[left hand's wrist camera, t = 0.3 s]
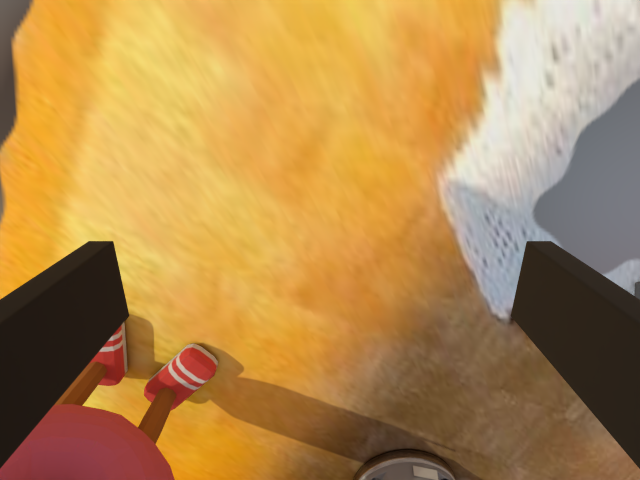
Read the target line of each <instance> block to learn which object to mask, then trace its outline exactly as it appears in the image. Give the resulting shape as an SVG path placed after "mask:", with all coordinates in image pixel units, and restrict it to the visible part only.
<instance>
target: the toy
mask: <svg viewBox="0 0 640 480" xmlns="http://www.w3.org/2000/svg"><path fill="white" fill-rule="evenodd" d="M217 365H218V361H217V360H216V358H215V357H214V356H213V355H212V354H210V353H209V352H208V351H206V350H205V349H204V348H203V347H201V346H199V345H197V344H189V345H187V346H186V347H185V348H184V349H182V350H181V351H180V352H179V353H178V354H177V355H176V356H175V357H174V358H172V359H171V360H170V361H169V362H168V363H167V364H166V365H165V366H164V367H162V368H161V369H160V370H159V371H158V372H157V373H156V374H155V375H154V376H152V377H151V378H150V380H149V381H148V383H147V385H146V386H145V390H144V396H145V397H146V398H147V399H148V400H149V401H150V402H152V404H151V405H150V407H149V409H148V410H147V412H146V414H145V416H144V417H143V419H142V421H141V423H140V425H139V427H136V426H135V425H134V424H132V423H131V422H130V421H128V420H127V419H126V418H124V417H123V416H122V415H119V414H116V413H112V412H109V411H106V410H102V409H96V408H91V407H85V406H82V405H83V404H84V403H85V401H86V400H87V399H88V397H89V396H90V395H91V393H92V392H93V391H94V389H95V388H96V387H97V385H106V386H111V385H116V384H118V383H119V382H120V381H121V380H122V378H123V377H124V375H125V374H126V372H127V371H128V367H127V352H126V338H125V323H123V324H122V325H121V326H120V327H119V328H118V330H117V331H116V332H115V333H114V334H113V336H112V337H111V338H110V339H109V340H108V341H107V343H106V344H105V345H104V346H103V347H102V349H101V350H100V351H99V352H98V353H97V355H96V356H95V357H94V358H93V359H92V360H91V362H90V363H89V364H88V365H87V366H86V368H85V369H84V370H83V371H82V372H81V374H80V375H79V376H78V377H77V378H76V379H75V381H74V382H73V383H72V384H71V385H70V387H69V388H68V389H67V390H66V391H65V393H64V394H63V395H62V396H61V397H60V398H59V400H58V401H57V402H56V403H55V404H54V406H53V407H52V408H51V409H50V410H49V411H48V413H47V414H46V415H45V416H44V417H43V419H42V420H41V421H40V422H39V423H38V425H37V426H36V427H35V428H34V429H33V430H32V432H31V433H30V434H29V435H28V436H27V438H26V439H25V440H24V441H23V442H22V444H21V445H20V446H19V447H18V448H17V449H16V451H15V452H14V453H13V454H12V455H11V457H10V458H9V459H8V460H7V461H6V463H5V464H4V465H3V466H2V467H1V468H0V480H174V477H173V474H172V471H171V468H170V465H169V464H168V462H167V461H166V459H165V458H164V456H163V455H162V453H161V452H160V450H159V449H158V448H157V446H156V445H155V444H156V442H157V440H158V438H159V436H160V433H161V431H162V429H163V427H164V424H165V422H166V419H167V417H168V415H169V412H170V410H173V409H175V408H176V407H177V406H178V405H180V404H181V403H182V402H183V401H184V400H186V399H187V398H188V397H189V396H190V395H191V394H193V393H194V392H195V391H196V390H197V389H199V388H200V387H201V386H202V385H203V384H204V383H206V382H207V381H208V380H209V379H210V378H212V377H213V376H214V374H215V371H216V369H217Z"/></svg>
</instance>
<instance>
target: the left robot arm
mask: <svg viewBox="0 0 640 480" xmlns="http://www.w3.org/2000/svg"><path fill="white" fill-rule="evenodd" d="M128 317H129V313H128V308H127V303H126V299H125V294H124V290H123V285H122V280H121V276H120V271H119V266H118V262H117V257H116V252H115V248H114V243H113V241H89V242H87V243H86V244H84V245H83V246H81V247H80V248H78V249H77V250H75V251H74V252H72V253H70V254H69V255H67V256H66V257H64V258H63V259H61V260H60V261H58V262H57V263H55V264H54V265H52V266H51V267H49V268H48V269H46V270H45V271H43V272H42V273H40V274H39V275H37V276H36V277H34V278H32V279H31V280H29V281H28V282H26V283H25V284H23V285H22V286H20V287H19V288H17V289H16V290H14V291H13V292H11V293H10V294H8V295H7V296H5V297H4V298H2V299H1V300H0V468H1V467H2V466H3V465H4V464H5V463H6V461H7V460H8V459H9V458H10V457H11V455H12V454H13V453H14V452H15V451H16V449H17V448H18V447H19V446H20V445H21V444H22V442H23V441H24V440H25V439H26V438H27V436H28V435H29V434H30V433H31V432H32V430H33V429H34V428H35V427H36V426H37V425H38V423H39V422H40V421H41V420H42V419H43V417H44V416H45V415H46V414H47V413H48V411H49V410H50V409H51V408H52V407H53V406H54V404H55V403H56V402H57V401H58V400H59V398H60V397H61V396H62V395H63V394H64V393H65V391H66V390H67V389H68V388H69V387H70V385H71V384H72V383H73V382H74V381H75V379H76V378H77V377H78V376H79V375H80V374H81V372H82V371H83V370H84V369H85V368H86V366H87V365H88V364H89V363H90V362H91V360H92V359H93V358H94V357H95V356H96V355H97V353H98V352H99V351H100V350H101V349H102V347H103V346H104V345H105V344H106V343H107V341H108V340H109V339H110V338H111V337H112V336H113V334H114V333H115V332H116V331H117V330H118V328H119V327H120V326H121V325H122V324H123V323H124V321H125V320H126V319H127V318H128ZM511 317H512V318H513V319H514V320H515V321H516V323H517V324H518V325H519V326H520V327H521V328H522V330H523V331H524V332H525V333H526V334H527V336H528V337H529V338H530V339H531V340H532V341H533V343H534V344H535V345H536V346H537V347H538V349H539V350H540V351H541V352H542V353H543V355H544V356H545V357H546V358H547V359H548V360H549V362H550V363H551V364H552V365H553V366H554V368H555V369H556V370H557V371H558V372H559V374H560V375H561V376H562V377H563V378H564V379H565V381H566V382H567V383H568V384H569V385H570V387H571V388H572V389H573V390H574V391H575V393H576V394H577V395H578V396H579V397H580V398H581V400H582V401H583V402H584V403H585V404H586V406H587V407H588V408H589V409H590V410H591V411H592V413H593V414H594V415H595V416H596V417H597V419H598V420H599V421H600V422H601V423H602V425H603V426H604V427H605V428H606V429H607V430H608V432H609V433H610V434H611V435H612V436H613V438H614V439H615V440H616V441H617V442H618V444H619V445H620V446H621V447H622V448H623V449H624V451H625V452H626V453H627V454H628V455H629V457H630V458H631V459H632V460H633V461H634V463H635V464H636V465H637V466H638V467H639V468H640V300H639V299H638V298H636V297H635V296H633V295H632V294H630V293H629V292H627V291H626V290H624V289H623V288H621V287H620V286H618V285H617V284H615V283H614V282H612V281H611V280H609V279H608V278H606V277H604V276H603V275H601V274H600V273H598V272H597V271H595V270H594V269H592V268H591V267H589V266H588V265H586V264H585V263H583V262H582V261H580V260H579V259H577V258H576V257H574V256H572V255H571V254H570V253H568V252H566V251H565V250H563V249H562V248H560V247H559V246H557V245H556V244H554V243H553V242H551V241H527V243H526V248H525V252H524V257H523V262H522V266H521V271H520V276H519V280H518V285H517V290H516V294H515V299H514V303H513V308H512V313H511ZM353 480H456V479H455V476H454V473H453V471H452V469H451V468H450V467H449V465H448V464H447V463H446V462H444V461H443V460H442V459H440V458H438V457H437V456H435V455H432V454H429V453H426V452H422V451H416V450H400V451H393V452H389V453H385V454H382V455H380V456H377V457H375V458H373V459H371V460H370V461H368V462H367V463H366V464H364V465H363V466H362V467H361V468H360V469H359V470H358V472H357V473H356V475H355V476H354V479H353Z"/></svg>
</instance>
